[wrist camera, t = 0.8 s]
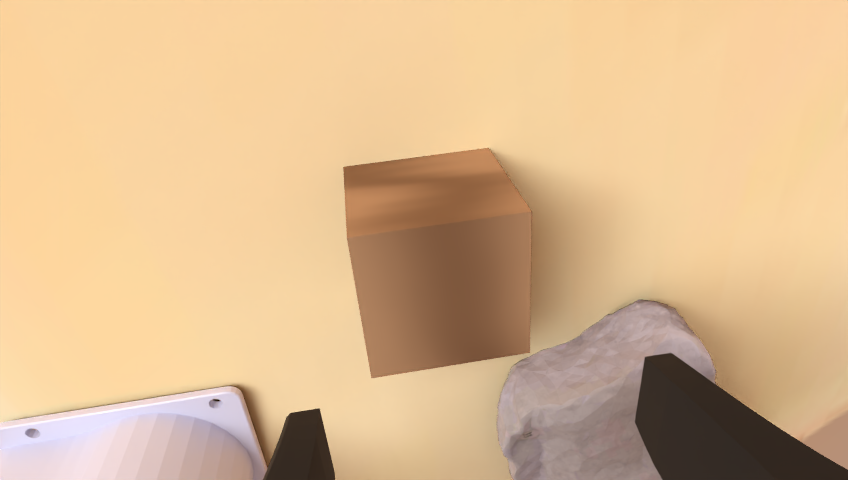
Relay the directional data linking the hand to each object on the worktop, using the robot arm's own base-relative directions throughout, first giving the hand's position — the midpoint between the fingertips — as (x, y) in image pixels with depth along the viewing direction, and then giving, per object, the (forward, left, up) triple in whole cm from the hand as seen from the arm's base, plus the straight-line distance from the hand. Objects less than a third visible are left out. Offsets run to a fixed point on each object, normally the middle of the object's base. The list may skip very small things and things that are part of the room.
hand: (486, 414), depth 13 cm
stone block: (+7, -12, -10) cm, 17 cm away
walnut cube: (0, 0, -10) cm, 10 cm away
